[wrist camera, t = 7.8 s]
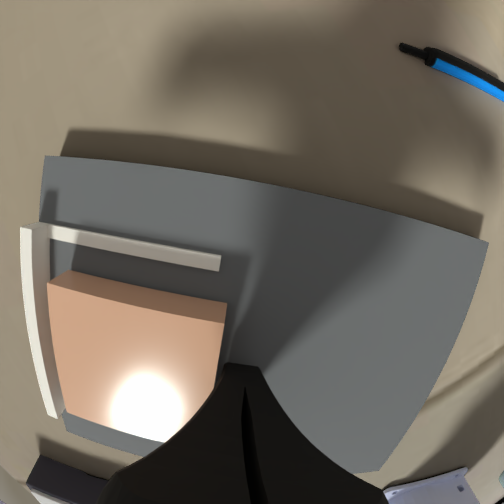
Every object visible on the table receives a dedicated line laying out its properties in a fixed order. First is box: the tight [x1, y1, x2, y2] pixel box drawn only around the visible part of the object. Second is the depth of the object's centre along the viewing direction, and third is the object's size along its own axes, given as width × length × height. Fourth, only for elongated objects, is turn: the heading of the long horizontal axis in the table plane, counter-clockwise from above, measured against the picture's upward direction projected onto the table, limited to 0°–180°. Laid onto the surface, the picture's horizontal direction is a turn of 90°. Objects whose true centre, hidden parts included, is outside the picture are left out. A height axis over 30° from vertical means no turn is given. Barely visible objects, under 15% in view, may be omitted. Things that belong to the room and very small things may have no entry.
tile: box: [47, 270, 227, 442], centre depth 10 cm, size 2×6×6 cm
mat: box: [20, 156, 489, 474], centre depth 11 cm, size 18×14×2 cm
